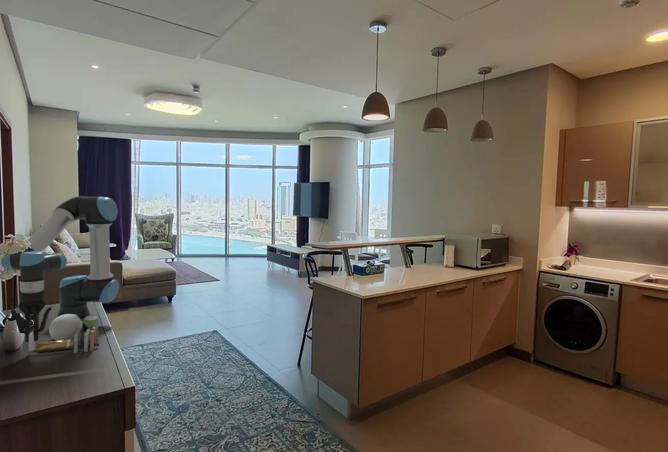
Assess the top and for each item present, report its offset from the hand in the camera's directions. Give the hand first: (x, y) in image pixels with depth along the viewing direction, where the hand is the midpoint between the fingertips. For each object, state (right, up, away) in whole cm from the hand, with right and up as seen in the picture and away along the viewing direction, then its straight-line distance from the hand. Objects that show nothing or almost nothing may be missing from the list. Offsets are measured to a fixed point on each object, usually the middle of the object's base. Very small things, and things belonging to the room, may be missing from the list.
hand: (32, 349), depth 149 cm
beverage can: (+13, -3, +16) cm, 21 cm away
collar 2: (+17, -3, +8) cm, 19 cm away
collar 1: (+13, -3, +7) cm, 15 cm away
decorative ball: (+1, -2, +17) cm, 18 cm away
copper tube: (+7, -2, +3) cm, 8 cm away
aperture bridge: (+18, -3, +9) cm, 21 cm away
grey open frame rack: (+10, -3, +5) cm, 11 cm away
